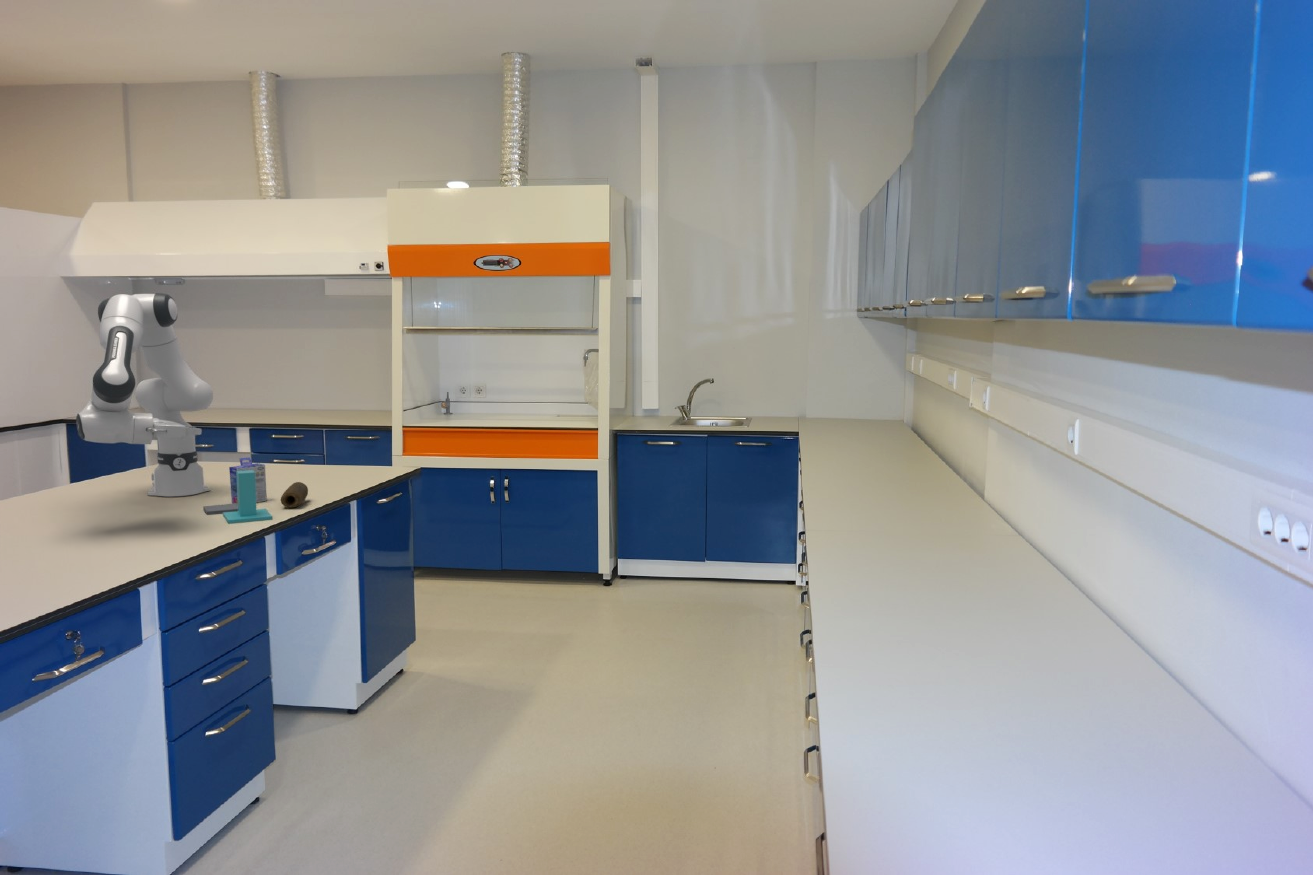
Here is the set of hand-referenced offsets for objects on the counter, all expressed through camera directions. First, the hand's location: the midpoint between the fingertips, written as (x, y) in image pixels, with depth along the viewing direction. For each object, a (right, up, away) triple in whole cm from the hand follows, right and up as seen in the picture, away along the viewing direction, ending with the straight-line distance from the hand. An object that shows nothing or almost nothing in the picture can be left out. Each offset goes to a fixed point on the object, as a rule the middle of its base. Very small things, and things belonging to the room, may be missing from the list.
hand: (198, 430), depth 264 cm
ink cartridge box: (+1, -23, +31) cm, 39 cm away
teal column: (+10, -25, +9) cm, 29 cm away
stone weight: (+17, -24, +29) cm, 41 cm away
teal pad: (+10, -26, +9) cm, 29 cm away
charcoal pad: (-1, -25, +18) cm, 31 cm away
